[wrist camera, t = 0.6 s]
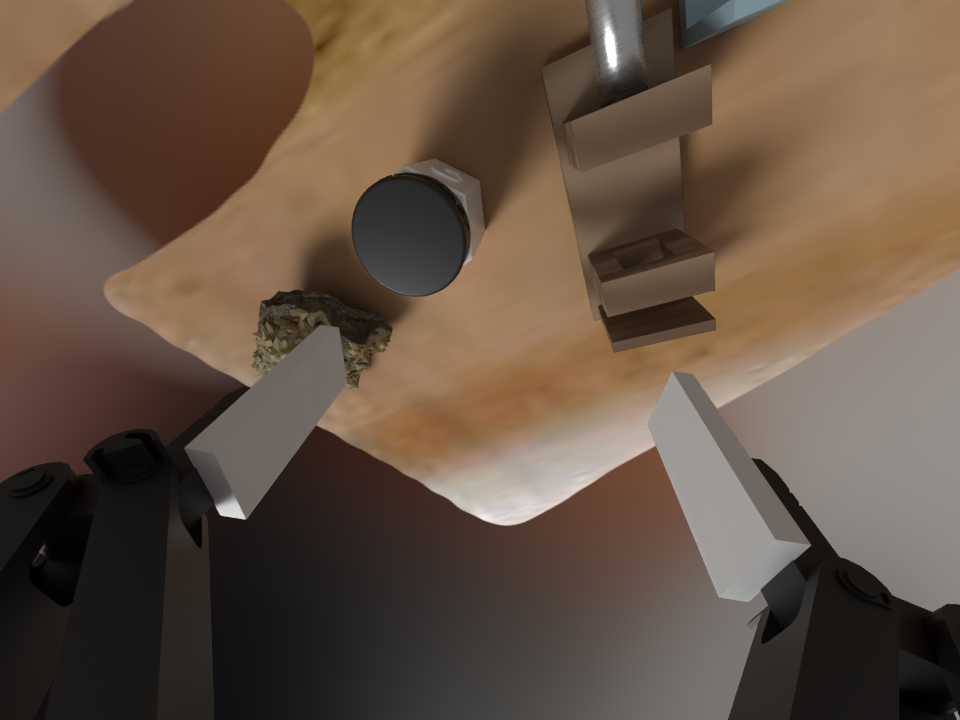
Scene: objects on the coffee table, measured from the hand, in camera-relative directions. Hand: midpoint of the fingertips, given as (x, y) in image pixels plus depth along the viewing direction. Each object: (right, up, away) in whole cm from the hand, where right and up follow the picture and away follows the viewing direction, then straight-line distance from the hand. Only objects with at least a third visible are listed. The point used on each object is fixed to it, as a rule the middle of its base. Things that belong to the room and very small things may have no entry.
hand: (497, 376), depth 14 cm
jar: (-4, +15, +20) cm, 26 cm away
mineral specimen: (-19, +4, +30) cm, 35 cm away
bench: (+12, +16, +17) cm, 26 cm away
